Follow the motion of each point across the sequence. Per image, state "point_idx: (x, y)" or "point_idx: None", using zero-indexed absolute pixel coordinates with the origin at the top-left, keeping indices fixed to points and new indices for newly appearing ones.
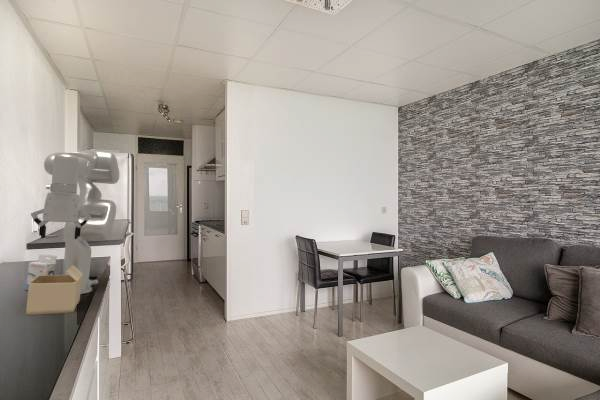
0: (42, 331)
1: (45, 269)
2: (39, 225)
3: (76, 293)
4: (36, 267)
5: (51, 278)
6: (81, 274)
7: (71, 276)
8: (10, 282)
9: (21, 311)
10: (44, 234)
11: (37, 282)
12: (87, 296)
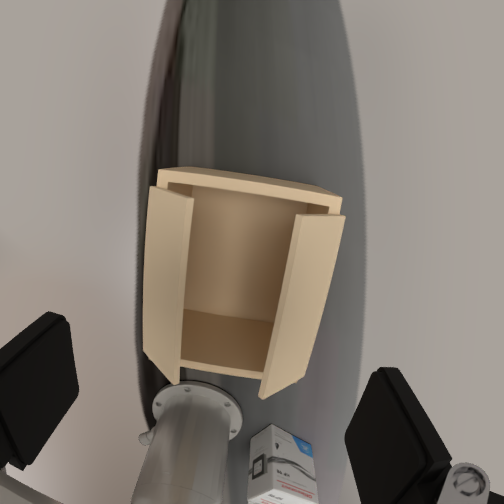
0: (267, 9)
1: (290, 272)
2: (471, 474)
3: None
4: (299, 488)
5: (258, 364)
6: (144, 329)
7: (171, 191)
8: (330, 500)
9: None
10: (368, 425)
11: None
12: None
